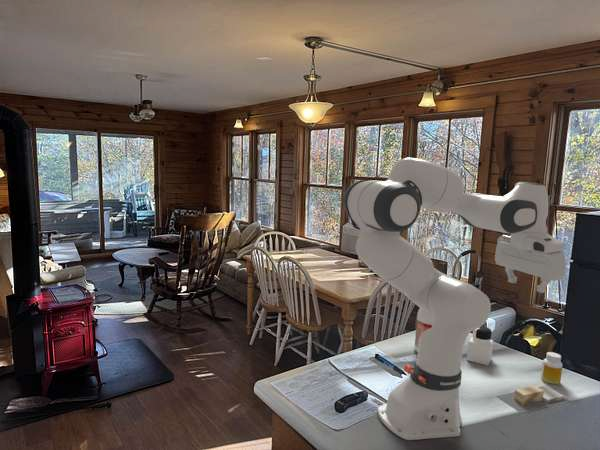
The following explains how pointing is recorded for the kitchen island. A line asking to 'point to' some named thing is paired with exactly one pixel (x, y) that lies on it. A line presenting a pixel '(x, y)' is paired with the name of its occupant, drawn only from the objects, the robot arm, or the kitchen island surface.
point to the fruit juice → (422, 324)
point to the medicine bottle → (480, 346)
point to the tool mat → (528, 407)
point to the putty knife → (537, 395)
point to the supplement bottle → (552, 369)
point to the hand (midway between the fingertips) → (526, 287)
